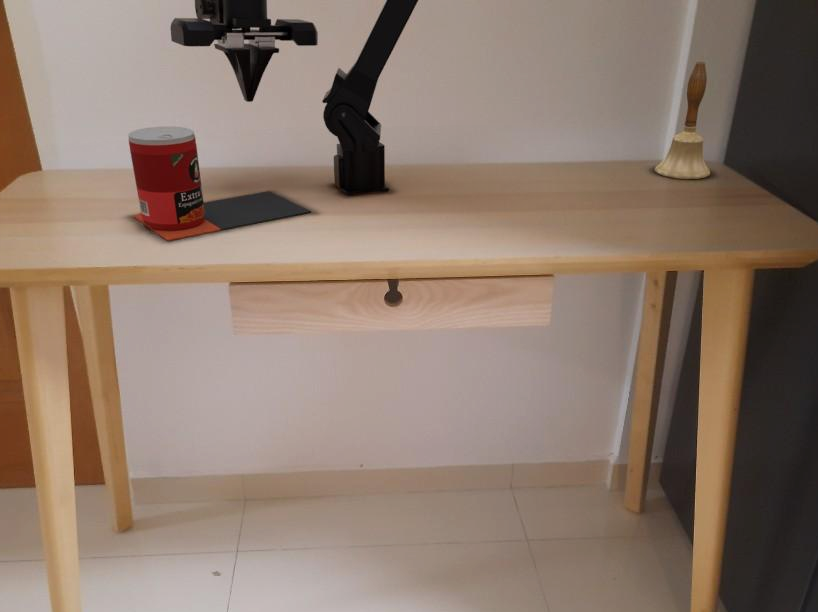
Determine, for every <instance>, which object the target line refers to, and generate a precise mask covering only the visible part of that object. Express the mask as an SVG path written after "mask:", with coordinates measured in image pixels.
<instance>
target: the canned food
mask: <svg viewBox="0 0 818 612" xmlns="http://www.w3.org/2000/svg"><path fill="white" fill-rule="evenodd" d="M127 136H128V145H129V153H130V157H131V163H132V169H133V175H134V181H135V187H136V191H137V198H138V202H139V210H140V214H141V215H142V219H143V221H144V223H145V225H146V226H145V225H144V226H145V227H147V226H148V227H150V228H152V229H156V230H183V229H188V228H192V227H195V226H198V225H200V224H201V223H202V222H203V221H204V216H205V211H204V203H205V202H204V195H203V188H202V187H203V186H202V179H201V170H200V164H199V162H200V161H199V155H198V147H197V139H196V135H195V131H194V130H193V129H190V128H187V127H182V126H153V127H144V128H139V129H136V130H133V131H130V132H129V133H128V135H127ZM148 227H147V228H148ZM150 228H149V229H150Z"/></svg>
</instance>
